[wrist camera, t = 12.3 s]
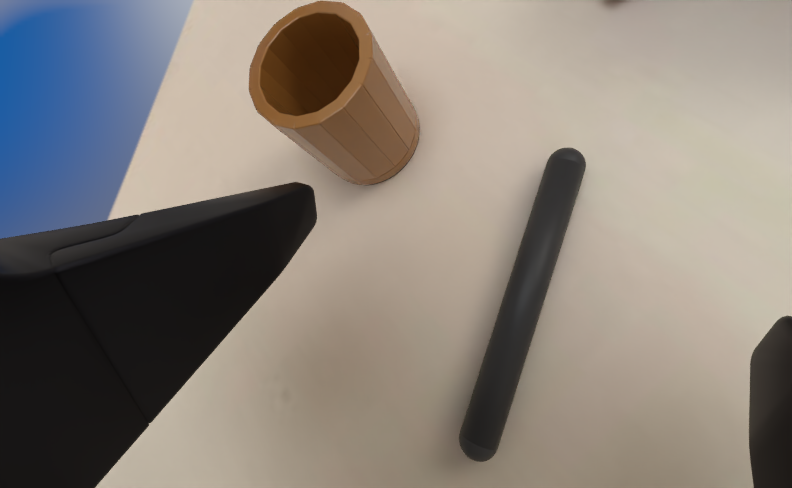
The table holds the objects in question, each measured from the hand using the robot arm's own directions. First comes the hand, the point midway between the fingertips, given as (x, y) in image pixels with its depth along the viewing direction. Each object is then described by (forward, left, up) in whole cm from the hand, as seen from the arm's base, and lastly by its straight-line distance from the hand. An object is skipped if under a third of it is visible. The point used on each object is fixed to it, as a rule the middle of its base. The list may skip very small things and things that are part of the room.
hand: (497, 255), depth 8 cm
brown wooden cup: (+1, +9, -7) cm, 12 cm away
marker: (+4, +2, -9) cm, 10 cm away
